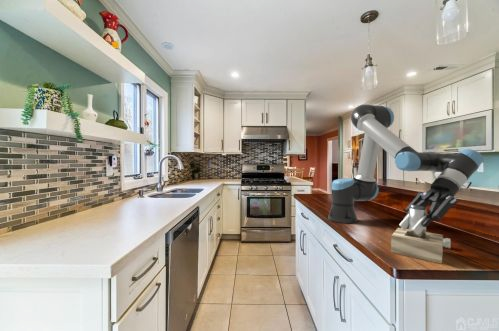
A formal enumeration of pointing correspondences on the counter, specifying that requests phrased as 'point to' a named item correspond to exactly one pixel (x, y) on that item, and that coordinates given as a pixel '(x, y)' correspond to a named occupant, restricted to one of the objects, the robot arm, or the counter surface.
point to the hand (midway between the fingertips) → (408, 229)
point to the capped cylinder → (416, 220)
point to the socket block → (417, 245)
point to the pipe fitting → (446, 243)
